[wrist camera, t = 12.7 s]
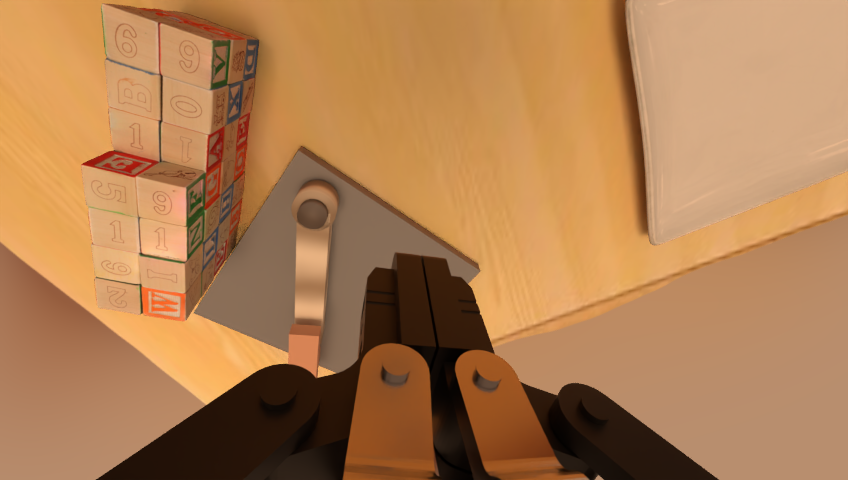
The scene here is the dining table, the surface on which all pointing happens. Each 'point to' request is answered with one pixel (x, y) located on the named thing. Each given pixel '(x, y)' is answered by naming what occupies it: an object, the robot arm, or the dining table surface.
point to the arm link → (313, 250)
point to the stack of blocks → (168, 159)
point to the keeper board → (348, 268)
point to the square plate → (736, 104)
